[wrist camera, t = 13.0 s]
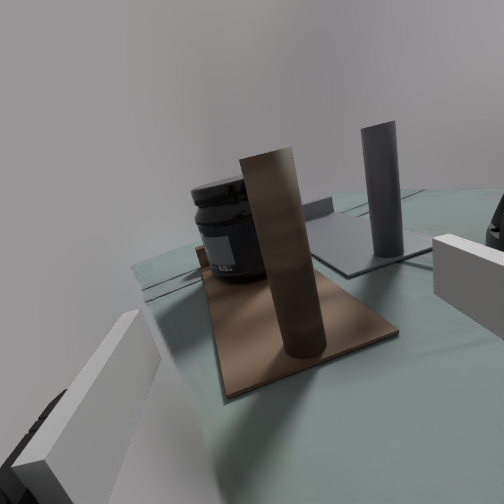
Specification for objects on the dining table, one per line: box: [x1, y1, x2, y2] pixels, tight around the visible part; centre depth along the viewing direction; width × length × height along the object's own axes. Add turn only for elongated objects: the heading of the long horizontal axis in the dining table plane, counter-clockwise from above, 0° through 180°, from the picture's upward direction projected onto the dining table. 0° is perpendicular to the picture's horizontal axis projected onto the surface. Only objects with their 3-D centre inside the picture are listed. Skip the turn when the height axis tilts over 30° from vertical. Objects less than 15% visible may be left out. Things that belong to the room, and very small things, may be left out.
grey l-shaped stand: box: [302, 121, 435, 278], centre depth 42 cm, size 28×13×14 cm, turn 13°
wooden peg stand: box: [195, 147, 399, 399], centre depth 30 cm, size 28×13×14 cm, turn 13°
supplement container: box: [191, 175, 267, 284], centre depth 36 cm, size 10×10×12 cm
